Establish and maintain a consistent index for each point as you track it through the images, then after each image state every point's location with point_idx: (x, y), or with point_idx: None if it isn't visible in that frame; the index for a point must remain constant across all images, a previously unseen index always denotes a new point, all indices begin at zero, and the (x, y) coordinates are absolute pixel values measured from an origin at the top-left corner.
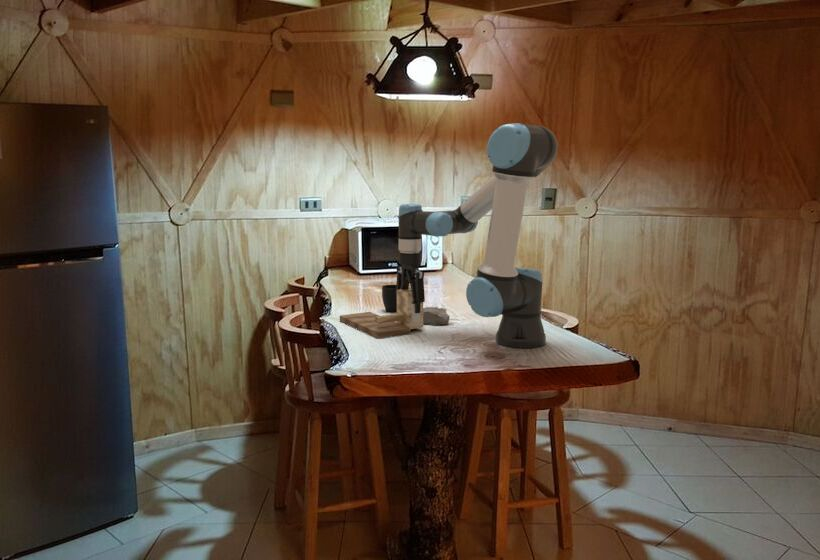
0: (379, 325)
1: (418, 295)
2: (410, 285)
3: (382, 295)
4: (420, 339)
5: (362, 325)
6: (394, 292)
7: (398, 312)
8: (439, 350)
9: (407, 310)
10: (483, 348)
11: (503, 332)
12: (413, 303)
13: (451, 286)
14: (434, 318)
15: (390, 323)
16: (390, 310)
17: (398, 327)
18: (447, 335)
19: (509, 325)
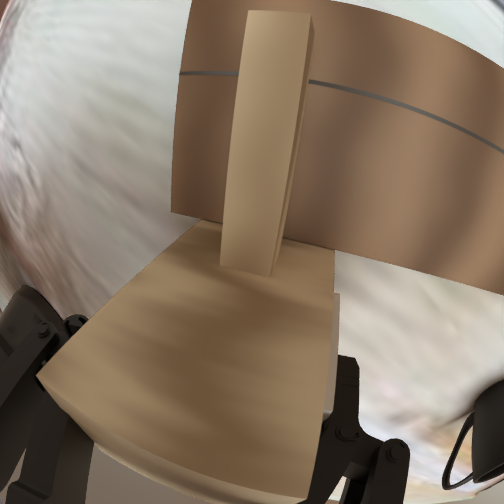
0: (345, 98)
1: (12, 356)
2: (55, 481)
3: None
4: (101, 175)
5: (417, 26)
6: (498, 451)
7: (304, 286)
8: (22, 151)
9: (143, 271)
10: (21, 246)
11: (16, 305)
12: (73, 317)
13: (439, 493)
14: None
15: (341, 199)
16: (499, 387)
17: (213, 162)
18: (112, 286)
19: (4, 316)
